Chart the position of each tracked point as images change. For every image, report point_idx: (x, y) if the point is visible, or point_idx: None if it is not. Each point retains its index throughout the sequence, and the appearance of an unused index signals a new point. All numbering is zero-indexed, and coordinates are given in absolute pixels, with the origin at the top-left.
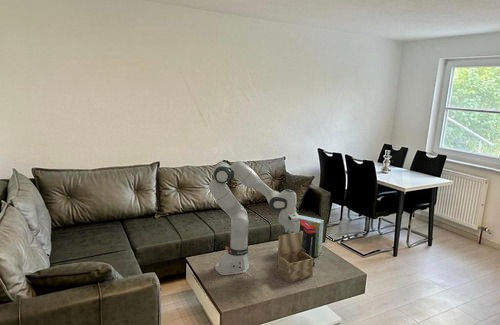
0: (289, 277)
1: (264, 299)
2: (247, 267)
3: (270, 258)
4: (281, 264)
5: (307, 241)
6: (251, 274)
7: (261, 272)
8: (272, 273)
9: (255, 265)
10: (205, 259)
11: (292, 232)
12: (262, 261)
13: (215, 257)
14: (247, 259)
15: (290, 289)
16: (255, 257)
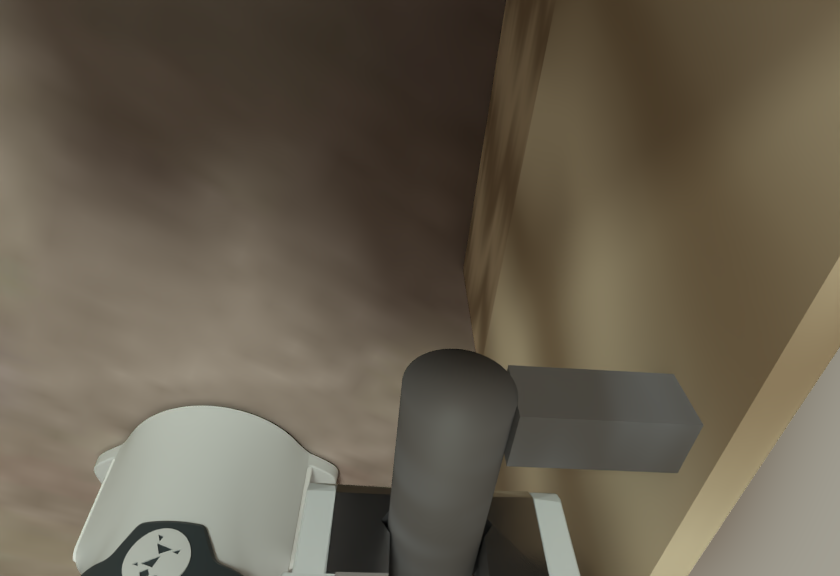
0: None
1: None
2: (289, 452)
3: (138, 163)
4: None
5: None
6: (379, 444)
7: (388, 379)
8: (453, 317)
9: (248, 363)
10: (43, 570)
11: (506, 456)
12: (188, 276)
13: (19, 525)
14: (244, 494)
15: None
16: (75, 291)
